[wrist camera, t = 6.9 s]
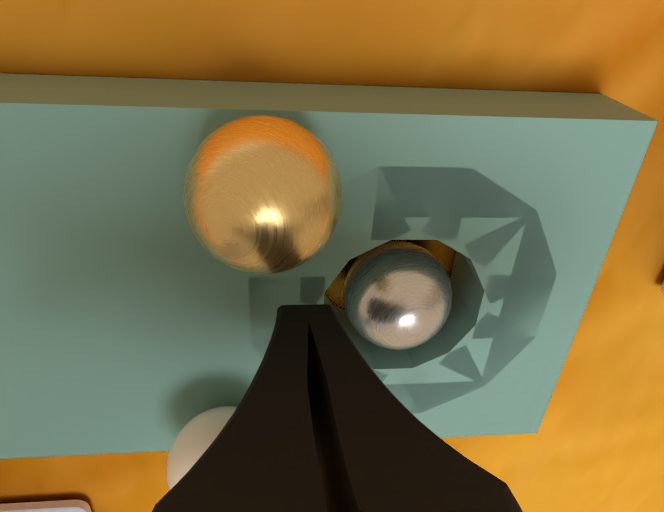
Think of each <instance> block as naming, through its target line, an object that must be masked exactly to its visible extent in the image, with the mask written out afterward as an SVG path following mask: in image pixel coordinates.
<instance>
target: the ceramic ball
mask: <svg viewBox="0 0 664 512" xmlns="http://www.w3.org/2000/svg"><path fill="white" fill-rule="evenodd" d="M236 408H237V407H235V406H221V407H216V408H212V409H209V410H207V411H204V412H202V413H200V414H198V415H197V416H195V417H194V418H193V419H191V420H190V421H189V422H188V423H187V424H186V425H185V426H184V427H183V428H182V429H181V431H180V432H179V433H178V435H177V436H176V438H175V440H174V442H173V444H172V446H171V449H170V451H169V455H168V460H167V468H166V472H167V483H168V487H169V491H170V490H171V489H172V488H173V487H174V486H175V485H176V484H177V483H178V482H179V480H180V479H181V478H182V477H183V476H184V475H185V474H186V473H187V472H188V471H189V470H190V469H191V468H192V466H193V465H194V464H195V463H196V462H197V460H198V459H199V458H200V457H201V456H202V454H203V453H204V452H205V451H206V450H207V448H208V447H209V446H210V445H211V444H212V442H213V441H214V440H215V439H216V437H217V436H218V434H219V433H220V432H221V430H222V429H223V427H224V426H225V425H226V423H227V422H228V420H229V419H230V417H231V416H232V414H233V413H234V411H235V410H236Z"/></svg>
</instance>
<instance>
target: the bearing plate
mask: <svg viewBox="0 0 664 512" xmlns="http://www.w3.org/2000/svg"><path fill="white" fill-rule="evenodd" d="M255 115H269V116H276V117H281V118H285V119H288V120H291V121H293V122H295V123H297V124H299V125H301V126H303V127H304V128H306V129H308V130H309V131H310V132H312V133H313V134H314V135H315V136H316V137H317V138H318V139H320V140H321V142H322V143H323V144H324V145H325V146H326V147H327V149H328V150H329V152H330V153H331V155H332V157H333V159H334V161H335V163H336V165H337V168H338V170H339V174H340V178H341V182H342V190H343V201H342V208H341V215H340V218H339V221H338V224H337V226H336V229H335V231H334V233H333V235H332V236H331V238H330V239H329V241H328V242H327V244H326V245H325V246H324V247H323V249H322V250H321V251H320V252H319V253H318V254H316V255H315V256H314V257H313V258H312V259H310V260H309V261H308V262H306V263H304V264H302V265H300V266H298V267H297V268H294V269H291V270H288V271H285V272H282V273H276V274H253V273H247V272H242V271H239V270H236V269H234V268H232V267H230V266H227V265H225V264H224V263H222V262H220V261H219V260H217V259H216V258H215V257H213V256H212V255H211V254H210V253H209V252H208V251H207V250H206V249H205V248H204V247H203V246H202V245H201V244H200V242H199V241H198V240H197V238H196V236H195V235H194V233H193V231H192V229H191V227H190V225H189V223H188V220H187V217H186V213H185V208H184V202H183V187H184V178H185V174H186V171H187V168H188V165H189V163H190V160H191V158H192V156H193V155H194V153H195V151H196V150H197V148H198V147H199V145H200V144H201V143H202V142H203V141H204V140H205V139H206V138H207V137H208V136H209V135H210V134H211V133H212V132H213V131H215V130H216V129H218V128H219V127H221V126H223V125H224V124H226V123H228V122H231V121H233V120H236V119H239V118H242V117H247V116H255ZM657 122H658V121H657V120H655V119H653V118H651V117H649V116H647V115H644V114H642V113H640V112H638V111H636V110H634V109H632V108H630V107H628V106H626V105H624V104H622V103H620V102H618V101H615V100H613V99H611V98H609V97H607V96H605V95H603V94H595V93H566V92H537V91H507V90H478V89H449V88H420V87H390V86H361V85H332V84H302V83H273V82H244V81H214V80H185V79H156V78H126V77H97V76H68V75H39V74H9V73H0V459H10V458H30V457H51V456H72V455H92V454H113V453H134V452H154V451H170V449H171V446H172V444H173V442H174V440H175V438H176V436H177V435H178V433H179V432H180V431H181V429H182V428H183V427H184V426H185V425H186V424H187V423H188V422H189V421H190V420H191V419H193V418H194V417H195V416H197V415H198V414H200V413H202V412H204V411H207V410H209V409H212V408H216V407H221V406H235V407H238V405H239V403H240V402H241V400H242V398H243V397H244V395H245V393H246V391H247V390H248V388H249V386H250V384H251V382H252V380H253V378H254V376H255V374H256V372H257V370H258V368H259V366H260V364H261V362H262V360H263V357H264V355H265V352H266V350H267V347H268V345H269V342H270V339H271V336H272V333H273V330H274V326H275V322H276V317H277V308H279V307H280V306H281V305H313V304H330V305H331V306H332V307H333V309H334V311H335V313H336V315H337V317H338V319H339V320H340V322H341V324H342V326H343V327H344V329H345V331H346V332H347V334H348V336H349V337H350V339H351V340H352V342H353V343H354V345H355V346H356V348H357V349H358V351H359V352H360V354H361V355H362V356H363V358H364V359H365V361H366V362H367V363H368V365H369V366H370V367H371V369H372V370H373V371H374V372H375V374H376V375H377V376H378V377H379V379H380V380H381V381H382V382H383V383H384V385H385V386H386V387H387V388H388V389H389V390H390V391H391V393H392V394H393V395H394V396H395V397H396V398H397V399H398V400H399V401H400V402H401V403H402V404H403V405H404V406H405V407H406V408H407V409H408V410H409V411H410V412H411V413H412V414H413V415H414V416H415V417H416V418H417V419H418V420H419V421H420V422H421V423H423V424H424V425H425V426H426V427H427V428H429V429H430V430H431V431H432V432H433V433H435V434H436V435H437V436H438V437H439V438H443V437H464V436H484V435H505V434H525V433H537V432H538V429H539V427H540V424H541V422H542V419H543V416H544V414H545V411H546V409H547V406H548V404H549V401H550V398H551V396H552V393H553V391H554V388H555V386H556V383H557V380H558V378H559V375H560V373H561V370H562V367H563V365H564V362H565V360H566V357H567V355H568V352H569V349H570V347H571V344H572V342H573V339H574V337H575V334H576V331H577V329H578V326H579V324H580V321H581V318H582V316H583V313H584V311H585V308H586V306H587V303H588V300H589V298H590V295H591V293H592V290H593V288H594V285H595V282H596V280H597V277H598V275H599V272H600V269H601V267H602V264H603V262H604V259H605V257H606V254H607V251H608V249H609V246H610V244H611V241H612V239H613V236H614V233H615V231H616V228H617V226H618V223H619V220H620V218H621V215H622V213H623V210H624V208H625V205H626V202H627V200H628V197H629V195H630V192H631V190H632V187H633V184H634V182H635V179H636V177H637V174H638V171H639V169H640V166H641V164H642V161H643V159H644V156H645V153H646V151H647V148H648V146H649V143H650V141H651V138H652V135H653V133H654V130H655V128H656V125H657ZM390 240H438V241H440V242H442V243H444V244H445V245H447V246H449V247H451V248H452V249H454V250H456V253H455V257H454V262H453V267H452V272H451V276H450V278H449V279H450V283H451V288H452V304H451V309H450V312H449V315H448V318H447V320H446V322H445V323H444V325H443V326H442V328H441V329H440V330H439V332H438V333H437V334H436V335H435V336H434V337H432V338H431V339H430V340H428V341H427V342H425V343H423V344H421V345H419V346H417V347H413V348H409V349H402V350H394V349H387V348H383V347H380V346H377V345H375V344H373V343H371V342H369V341H368V340H366V339H365V338H364V337H363V336H361V335H360V334H359V333H358V332H357V331H356V329H355V328H354V327H353V325H352V324H351V322H350V320H349V318H348V316H347V314H346V311H345V310H344V309H342V308H339V307H337V306H335V305H333V304H332V303H331V302H330V300H329V299H328V297H327V295H326V294H325V292H326V290H327V289H328V288H329V286H330V285H331V284H332V282H333V281H334V280H335V278H336V277H337V276H338V274H339V273H340V272H341V270H342V269H343V268H344V267H345V265H346V264H347V263H348V261H349V260H350V259H353V258H355V257H357V256H359V255H361V254H363V253H365V252H367V251H369V250H371V249H373V248H375V247H378V246H380V245H382V244H384V243H386V242H388V241H390Z"/></svg>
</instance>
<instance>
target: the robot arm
mask: <svg viewBox="0 0 664 512" xmlns="http://www.w3.org/2000/svg"><path fill="white" fill-rule="evenodd" d="M0 512H91V508H90V506H89V504H88V503H87V502H85V501H83V500H76V499H75V500H57V501H40V502H23V503H6V504H0ZM152 512H523V511H522V510H521V508H520V506H519V504H518V502H517V501H516V499H515V497H514V496H513V494H512V492H511V491H510V489H509V487H508V486H507V484H506V483H505V482H503V481H502V480H500V479H498V478H497V477H495V476H494V475H492V474H491V473H489V472H487V471H486V470H484V469H483V468H481V467H479V466H478V465H476V464H475V463H473V462H472V461H470V460H469V459H467V458H466V457H464V456H463V455H462V454H460V453H459V452H457V451H456V450H455V449H453V448H452V447H451V446H449V445H448V444H447V443H445V442H444V441H443V440H442V439H441V438H439V437H438V436H437V435H436V434H435V433H433V432H432V431H431V430H430V429H429V428H427V427H426V426H425V425H424V424H423V423H421V422H420V421H419V420H418V419H417V418H416V417H415V416H414V415H413V414H412V413H411V412H410V411H409V410H408V409H407V408H406V407H405V406H404V405H403V404H402V403H401V402H400V401H399V400H398V399H397V398H396V397H395V396H394V395H393V394H392V393H391V391H390V390H389V389H388V388H387V387H386V386H385V385H384V383H383V382H382V381H381V380H380V379H379V377H378V376H377V375H376V374H375V372H374V371H373V370H372V369H371V367H370V366H369V365H368V363H367V362H366V361H365V359H364V358H363V356H362V355H361V354H360V352H359V351H358V349H357V348H356V346H355V345H354V343H353V342H352V340H351V339H350V337H349V336H348V334H347V332H346V331H345V329H344V327H343V326H342V324H341V322H340V320H339V319H338V317H337V315H336V313H335V311H334V309H333V307H332V306H331V305H330V304H313V305H281V306H280V307H279V308H277V317H276V322H275V326H274V330H273V333H272V336H271V339H270V342H269V345H268V347H267V350H266V352H265V355H264V357H263V360H262V362H261V364H260V366H259V368H258V370H257V372H256V374H255V376H254V378H253V380H252V382H251V384H250V386H249V388H248V390H247V391H246V393H245V395H244V397H243V398H242V400H241V402H240V403H239V405H238V407H237V408H236V410H235V411H234V413H233V414H232V416H231V417H230V419H229V420H228V422H227V423H226V425H225V426H224V427H223V429H222V430H221V432H220V433H219V434H218V436H217V437H216V439H215V440H214V441H213V442H212V444H211V445H210V446H209V447H208V448H207V450H206V451H205V452H204V453H203V454H202V456H201V457H200V458H199V459H198V460H197V462H196V463H195V464H194V465H193V466H192V468H191V469H190V470H189V471H188V472H187V473H186V474H185V475H184V476H183V477H182V478H181V479H180V480H179V482H178V483H177V484H176V485H175V486H174V487H173V488H172V489H171V490H170V491H169V492H168V493H167V494H166V495H165V496H164V497H163V498H162V499H161V500H160V501H159V502H158V503H157V504H156V505H155V507H154V509H153V511H152Z"/></svg>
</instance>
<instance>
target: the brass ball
mask: <svg viewBox="0 0 664 512" xmlns="http://www.w3.org/2000/svg"><path fill="white" fill-rule="evenodd" d="M342 201H343V190H342V182H341V178H340V174H339V170H338V168H337V165H336V163H335V161H334V159H333V157H332V155H331V153H330V152H329V150H328V149H327V147H326V146H325V145H324V144H323V143H322V142H321V140H320V139H318V138H317V137H316V136H315V135H314V134H313V133H312V132H310V131H309V130H308V129H306V128H304V127H303V126H301V125H299V124H297V123H295V122H293V121H291V120H288V119H285V118H281V117H276V116H269V115H255V116H247V117H242V118H239V119H236V120H233V121H231V122H228V123H226V124H224V125H223V126H221V127H219V128H218V129H216V130H215V131H213V132H212V133H211V134H210V135H209V136H208V137H207V138H206V139H205V140H204V141H203V142H202V143H201V144H200V145H199V147H198V148H197V150H196V151H195V153H194V155H193V156H192V158H191V160H190V163H189V165H188V168H187V171H186V174H185V178H184V187H183V202H184V208H185V213H186V217H187V220H188V223H189V225H190V227H191V229H192V231H193V233H194V235H195V236H196V238H197V240H198V241H199V242H200V244H201V245H202V246H203V247H204V248H205V249H206V250H207V251H208V252H209V253H210V254H211V255H212V256H213V257H215V258H216V259H217V260H219V261H220V262H222V263H224V264H225V265H227V266H230V267H232V268H234V269H236V270H239V271H242V272H247V273H253V274H276V273H282V272H285V271H288V270H291V269H294V268H297V267H298V266H300V265H302V264H304V263H306V262H308V261H309V260H310V259H312V258H313V257H314V256H315V255H316V254H318V253H319V252H320V251H321V250H322V249H323V247H324V246H325V245H326V244H327V242H328V241H329V239H330V238H331V236H332V235H333V233H334V231H335V229H336V226H337V224H338V221H339V218H340V215H341V208H342Z"/></svg>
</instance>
